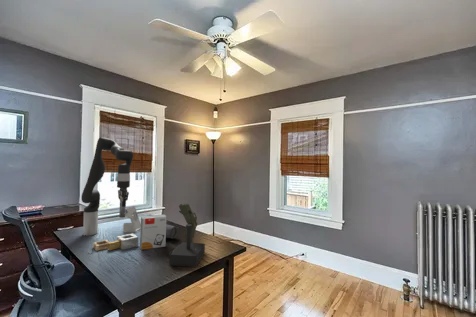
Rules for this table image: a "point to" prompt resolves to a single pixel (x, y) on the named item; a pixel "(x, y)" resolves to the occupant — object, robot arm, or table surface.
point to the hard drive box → (153, 231)
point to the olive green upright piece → (189, 219)
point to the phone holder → (134, 219)
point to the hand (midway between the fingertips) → (122, 206)
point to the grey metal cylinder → (122, 209)
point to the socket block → (128, 241)
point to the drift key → (114, 245)
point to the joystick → (187, 252)
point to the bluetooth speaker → (171, 231)
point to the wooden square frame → (100, 245)
